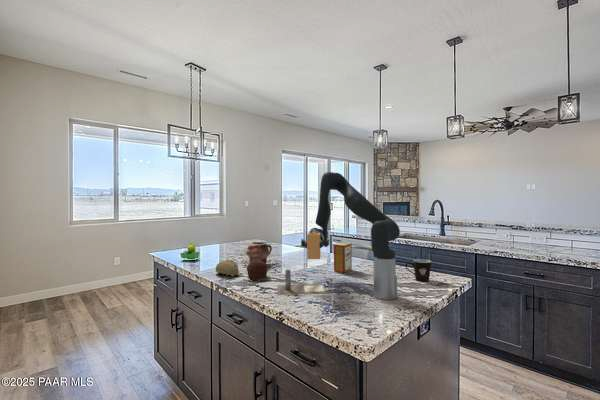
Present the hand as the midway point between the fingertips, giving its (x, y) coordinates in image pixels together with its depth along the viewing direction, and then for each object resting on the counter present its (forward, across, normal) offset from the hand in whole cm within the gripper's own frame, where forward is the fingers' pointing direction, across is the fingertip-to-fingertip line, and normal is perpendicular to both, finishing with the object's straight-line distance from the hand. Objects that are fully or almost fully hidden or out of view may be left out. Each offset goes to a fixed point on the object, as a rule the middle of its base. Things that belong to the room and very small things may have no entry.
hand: (313, 245), depth 137 cm
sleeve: (-3, 0, +6) cm, 7 cm away
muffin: (-19, -31, +22) cm, 43 cm away
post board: (-2, -6, +22) cm, 23 cm away
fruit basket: (-62, -90, +22) cm, 112 cm away
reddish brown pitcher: (-54, -39, +22) cm, 70 cm away
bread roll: (-28, -51, +22) cm, 63 cm away
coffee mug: (-28, +52, +22) cm, 63 cm away
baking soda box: (-42, +13, +22) cm, 50 cm away
